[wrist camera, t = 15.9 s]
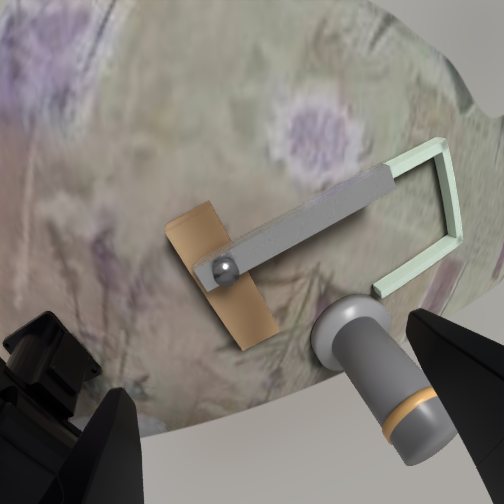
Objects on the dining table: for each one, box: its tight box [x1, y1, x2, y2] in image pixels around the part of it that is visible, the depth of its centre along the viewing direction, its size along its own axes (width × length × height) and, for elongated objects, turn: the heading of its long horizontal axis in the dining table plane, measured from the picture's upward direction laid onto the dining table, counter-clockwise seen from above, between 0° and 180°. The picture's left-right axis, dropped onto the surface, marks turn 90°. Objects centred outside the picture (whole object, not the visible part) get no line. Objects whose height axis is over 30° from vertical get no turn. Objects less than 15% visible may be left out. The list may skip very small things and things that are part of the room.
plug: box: [311, 294, 458, 466], centre depth 20 cm, size 7×7×13 cm
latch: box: [192, 163, 396, 292], centre depth 18 cm, size 13×2×2 cm, turn 116°
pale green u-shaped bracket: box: [373, 137, 463, 298], centre depth 22 cm, size 10×10×1 cm
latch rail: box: [165, 201, 280, 351], centre depth 21 cm, size 3×10×2 cm, turn 26°
